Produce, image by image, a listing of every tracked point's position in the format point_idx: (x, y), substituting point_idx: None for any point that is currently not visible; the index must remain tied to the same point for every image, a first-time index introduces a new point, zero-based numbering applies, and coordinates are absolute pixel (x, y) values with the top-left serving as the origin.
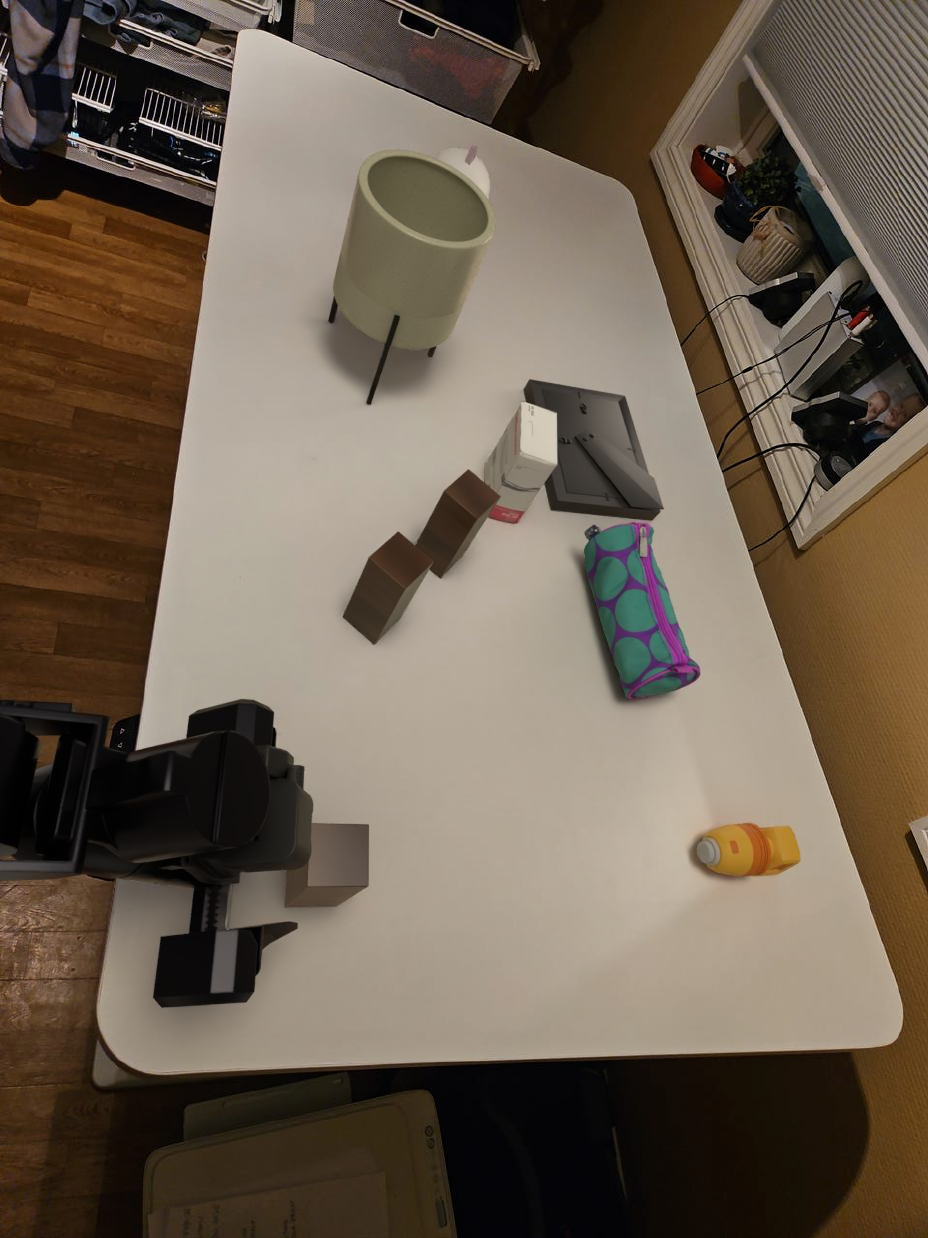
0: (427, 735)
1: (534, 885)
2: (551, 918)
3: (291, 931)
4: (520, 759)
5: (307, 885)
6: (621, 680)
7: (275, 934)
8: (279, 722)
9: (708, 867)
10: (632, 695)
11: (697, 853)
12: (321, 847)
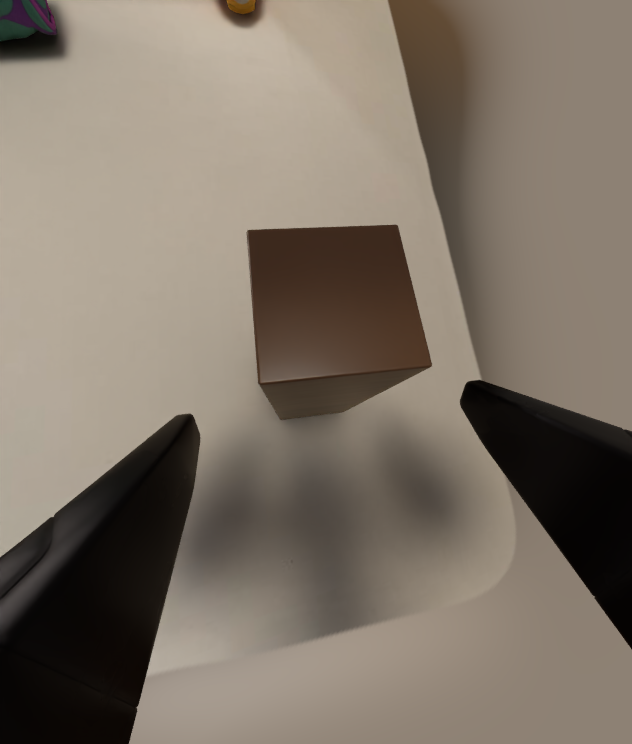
0: (110, 263)
1: (287, 158)
2: (317, 146)
3: (510, 390)
4: (143, 160)
5: (427, 365)
6: (15, 15)
7: (610, 431)
8: (89, 466)
9: (254, 7)
10: (40, 9)
11: (241, 1)
12: (324, 342)
